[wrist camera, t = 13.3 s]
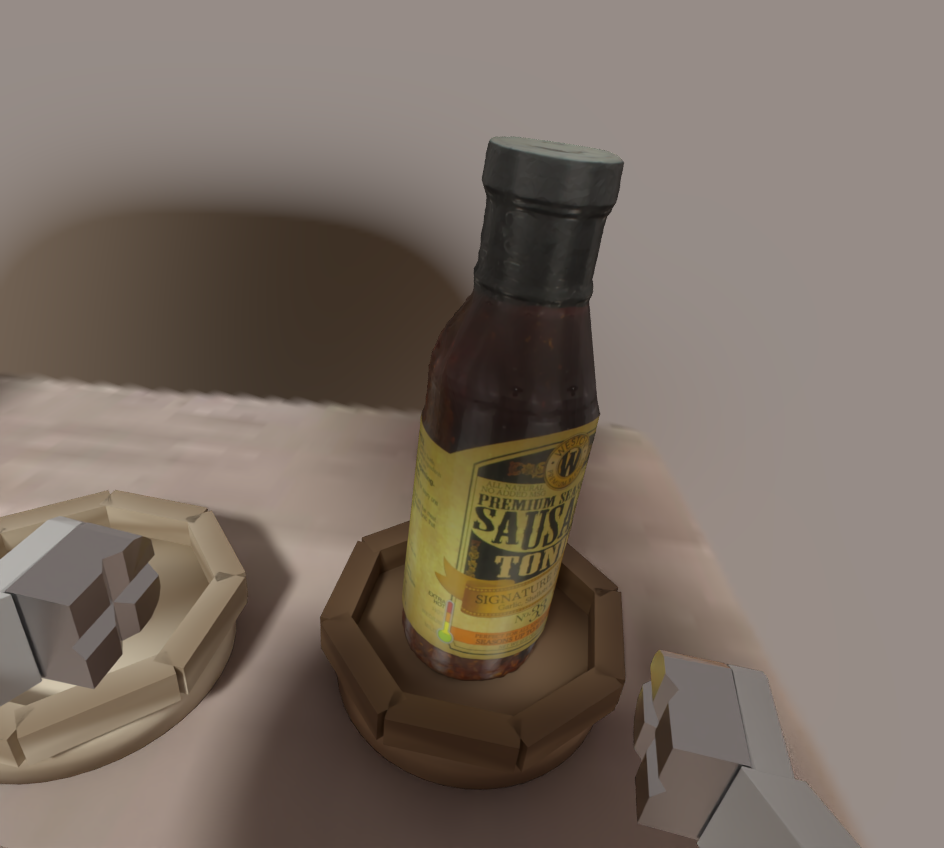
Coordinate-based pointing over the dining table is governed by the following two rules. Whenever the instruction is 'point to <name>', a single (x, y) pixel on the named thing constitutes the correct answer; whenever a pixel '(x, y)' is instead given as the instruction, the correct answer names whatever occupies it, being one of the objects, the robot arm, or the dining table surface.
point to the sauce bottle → (508, 414)
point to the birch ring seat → (131, 643)
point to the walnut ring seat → (472, 702)
